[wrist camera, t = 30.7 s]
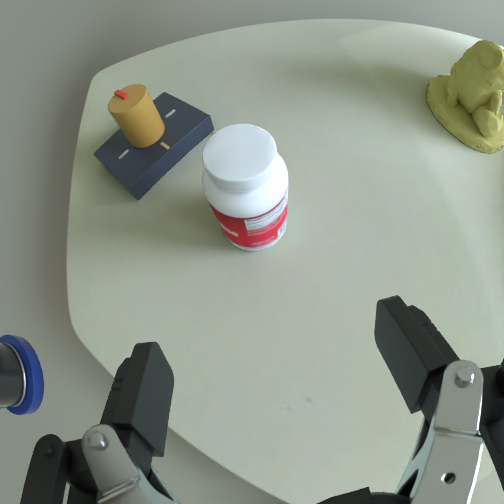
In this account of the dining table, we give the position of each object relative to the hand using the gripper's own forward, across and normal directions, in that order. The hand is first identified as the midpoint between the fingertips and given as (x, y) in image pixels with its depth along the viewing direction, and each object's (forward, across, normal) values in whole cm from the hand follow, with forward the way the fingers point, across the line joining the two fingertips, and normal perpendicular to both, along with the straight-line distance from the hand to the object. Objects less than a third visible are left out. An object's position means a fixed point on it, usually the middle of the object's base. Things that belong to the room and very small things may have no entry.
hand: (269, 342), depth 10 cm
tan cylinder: (+26, +10, -8) cm, 29 cm away
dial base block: (+28, +10, -6) cm, 30 cm away
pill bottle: (+19, 0, +3) cm, 19 cm away
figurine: (+27, -34, -6) cm, 44 cm away
